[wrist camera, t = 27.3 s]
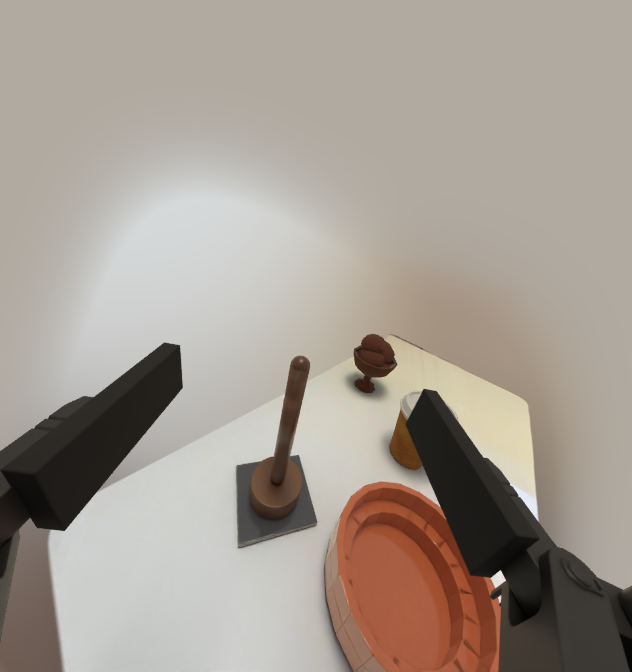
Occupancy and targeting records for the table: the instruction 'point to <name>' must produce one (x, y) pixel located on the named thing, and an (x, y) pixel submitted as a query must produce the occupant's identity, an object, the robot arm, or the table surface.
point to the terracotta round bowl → (407, 588)
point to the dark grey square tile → (262, 529)
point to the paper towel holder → (282, 454)
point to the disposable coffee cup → (407, 434)
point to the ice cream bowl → (373, 361)
